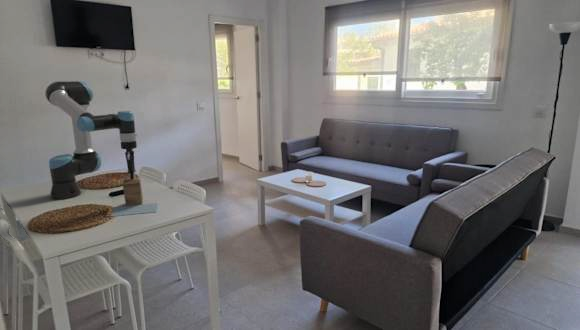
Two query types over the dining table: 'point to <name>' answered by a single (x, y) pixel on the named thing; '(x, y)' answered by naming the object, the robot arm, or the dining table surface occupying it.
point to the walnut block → (132, 192)
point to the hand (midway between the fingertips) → (133, 184)
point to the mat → (134, 209)
